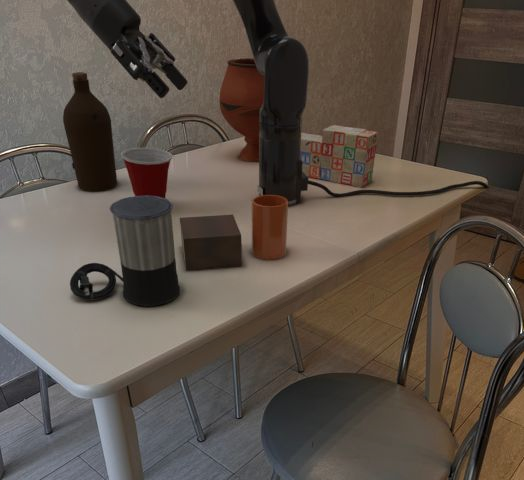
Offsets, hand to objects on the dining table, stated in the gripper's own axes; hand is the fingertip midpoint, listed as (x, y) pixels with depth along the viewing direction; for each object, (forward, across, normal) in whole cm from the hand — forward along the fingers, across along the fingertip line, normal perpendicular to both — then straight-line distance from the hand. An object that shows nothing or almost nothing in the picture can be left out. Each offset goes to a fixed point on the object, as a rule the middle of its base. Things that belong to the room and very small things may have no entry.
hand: (175, 90), depth 94 cm
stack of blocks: (+35, +44, +2) cm, 56 cm away
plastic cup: (+10, +11, +27) cm, 31 cm away
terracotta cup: (+32, -6, +5) cm, 33 cm away
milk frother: (+19, -27, +18) cm, 38 cm away
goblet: (+18, +57, +19) cm, 63 cm away
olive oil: (-4, +22, +41) cm, 46 cm away
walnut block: (+25, -10, +12) cm, 30 cm away
